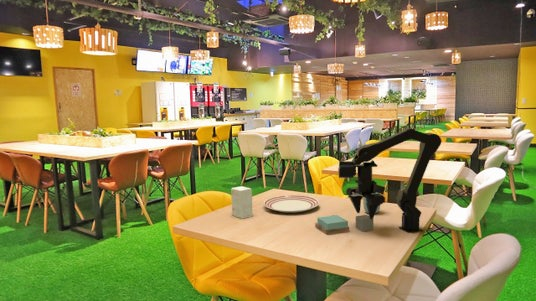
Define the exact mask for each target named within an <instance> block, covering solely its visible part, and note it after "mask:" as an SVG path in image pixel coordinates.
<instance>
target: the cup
mask: <svg viewBox="0 0 536 301" xmlns="http://www.w3.org/2000/svg"><path fill="white" fill-rule="evenodd" d="M375 194H380V195H382V194H381V193H377V192H376V193H375ZM366 196H367V195H366ZM366 203H367V201H366V198H365V197H363V198H362V205H363V210H364V212H366V213H367V214H369V213H368V209H367V206H366ZM380 209H381V205H379V206H378V207H377V210H376V212H375V214H378V213H379V211H380Z"/></svg>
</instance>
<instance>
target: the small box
mask: <svg viewBox="0 0 536 301" xmlns="http://www.w3.org/2000/svg"><path fill="white" fill-rule="evenodd" d="M230 191H231V194H230V195H231V214H232V216H234V217H237V218H239V219H245V218H249V217H250V218H251V217H253V216H254V215H253V214H254V211H253V190H252V188H251V187H248V186H247V187H246V186H242V185H241V186H236V187H231V188H230Z"/></svg>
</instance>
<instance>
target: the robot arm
mask: <svg viewBox="0 0 536 301" xmlns="http://www.w3.org/2000/svg"><path fill="white" fill-rule="evenodd" d="M411 139H412V140H413V141H417V142H419V146H418V148H419V149H418V151H419V152H418V156H417V158H416V161H415V163H414V166H413V169H412V171H411V173H410V176H409V179H408V181H407V183H406V186H405V187H404V189H401V188H400V189H399V190H398V194H397V196H396V197H395V199H396V204H397V206H398V208H399V209H400V210H401V211H402V212H401V214H402V215H401V226H398V229H400V230H402V231H405V232H407V233H415V232H421V231H423V228H420V217H421V215H422V211H421V210H420V209H419V208H418V207H417V206H416V204H417V199H418V190H419V188H420V186H421V182H422V181H423V178H424V175H425V173H426V170H427V168H428V166H429V163H430V161H431V159H432V157H433V156H434V155H435V153H437V151H438V149H439V148H440V146H441V144H442V138H441V137H440V135H438V134H436V133H434V132H426V133H425V132H422V131H419V130H416V129H414V128H411V127H406V128H405V129H402V130H401V131H398V132H397V133H394V134H392V135H390V136H388V137H386V138H383V139H381V140H379V141H376V142H372V143H367V144H364V145H360V146H359V147H358V148H357V150H356V155H355V156H354V157H353V158H352V160H347V161H345V160H339V161H338V169H337V171H338V179H354V177H355V176H357V177H356V178H357V179H355V181H354V183H357V186H352V187H347V189H346V194H345V195H347V197H348V198H349V200H350V201H351V203H352V205H353V208H354V209H355V212H356V214H360V212H361V207H362V206H361V203H362V200H363V197H365V198H366V201H367V203H366V206H367V209H368V213H367V214H368V216H369V217H370V219H373V218H374V217H375V214H376V213H375V212H376V210H377V207H378V206H379V205H380V206H381V205H383V204H385V203H386V197H385V196H384V195H385V194H384V193H385V190H386V187H385V186H382V185H380V184H378V183H377V181H375V180H373V168H377V167H378V164H377V163H375V161H374V160H373V159H375V158H376V157H378V156H379V155H380V154H381V153H382V152H384V151H386V150H388V149H391V148H393V147H395V146H397V145H401V144H402V143H404V142H406V141H409V140H411ZM376 192H377V193H381V195H380V194H375V193H376ZM366 195H367V196H366Z"/></svg>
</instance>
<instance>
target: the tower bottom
mask: <svg viewBox="0 0 536 301" xmlns="http://www.w3.org/2000/svg"><path fill="white" fill-rule="evenodd" d="M314 224H315V225H314V228H315V229H317V230H318V231H320V232H322V233H323V234H325V235H327V236H328V235H335V234H342V233H348V232H350V226H348V227H346V228H339V229H332V230H327V229H325V228H324V227H322V226H321V225H319V224H318V223H317V222H314Z"/></svg>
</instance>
